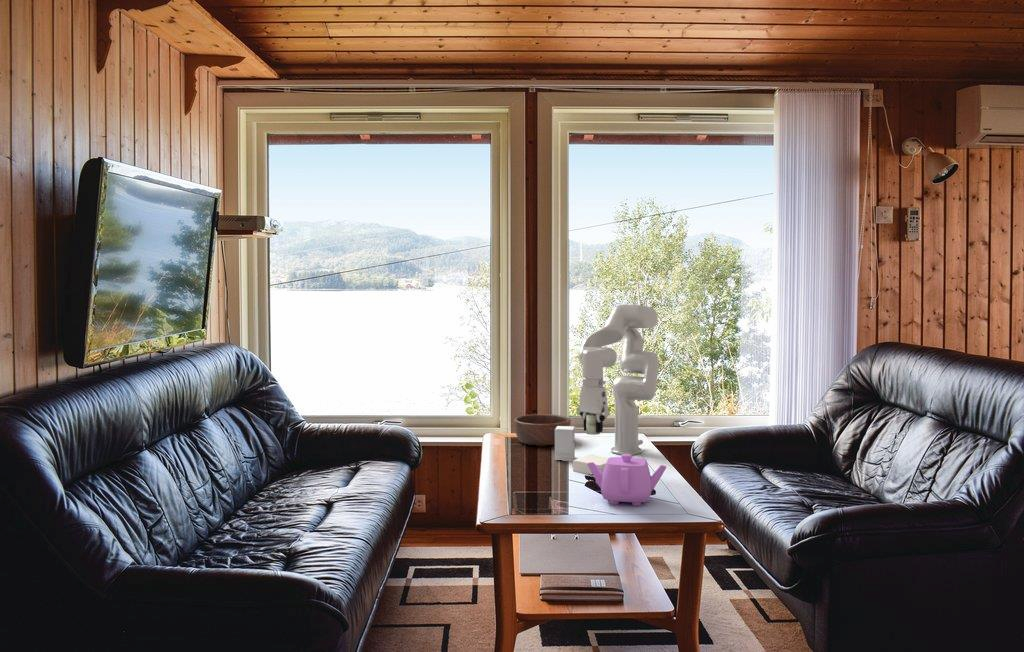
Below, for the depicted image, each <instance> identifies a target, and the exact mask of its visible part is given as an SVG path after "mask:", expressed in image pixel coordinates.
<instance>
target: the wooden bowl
mask: <svg viewBox="0 0 1024 652" xmlns="http://www.w3.org/2000/svg"><path fill="white" fill-rule="evenodd" d="M513 421H514V422H513V424H514V431H515V435H516V438H517V439H518V441H519V442H520V443H521V444H523V443H524V444H523V445H526V444H528V445H527V446H531V445H536V446H535V447H547V446H546V445H554V446H555V429H556V427H557V426H571V422H572V420H571V419H570V418H569V417H567V416H566V415H565V416H564V415H559V414H548V413H544V414H543V413H539V414H537V413H536V414H526V415H525V414H524V415H520V416H516V417H515V418H514V419H513ZM537 445H538V446H537Z"/></svg>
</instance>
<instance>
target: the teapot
mask: <svg viewBox="0 0 1024 652" xmlns="http://www.w3.org/2000/svg"><path fill="white" fill-rule="evenodd" d="M608 458H609V459H608V460H607V462H606V465H605V468H604V472H603V473H602V472H601V471H600V470H599V469H598V467H597V466H596V465H595V464H594V462H590V463H588V464H587V465H588V467H589V468H590V470H591V472H592V474H593V475H592V476H593V478H594V479H595V482H596V483H597V486H598V487H599V488H600V492H601V496H602V498H603V500H605V501H609V505H615V506H616V505H619V504H620V502H623V503H631V504H632V506H634V507H641V506H642V505H643V504H642V503H646V502H648V501H649V499H650V497H651V495H652V491H654V489H655V488H656V486H657V484H658V483H659V481H660V480H661V478H662V476H663V474H664V473H665V471H666V469H667V465H661V464H660V465H659V467H658V468H657V469H656V470H655V471H654V473H652V475H651V471H650V468H649V467H650V466H649V463H648V461H647V459H645V458H640V457H634V455H631V454H622V455H621V456H612V457H611V456H610V457H608Z"/></svg>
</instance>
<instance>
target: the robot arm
mask: <svg viewBox="0 0 1024 652" xmlns="http://www.w3.org/2000/svg"><path fill="white" fill-rule="evenodd" d="M658 319H659V317H658V313H657V311H656V309H654V307H651V306H647V305H642V304H618V305H616V306H615V307H613V308H612V310H611V312H610V313H609V317H608V318H607V320H606V322H605V323H604V326H603V327H601V328H599V329H598V330H596V331H594V332H593V333H591V334H590V335H588V337H586V338H585V339H584V341H583V343H582V345H581V347H580V350H579V351H578V360H579V363H580V364H581V365H582V385H581V388H580V394H579V404H578V407H576V411H577V413H579V415H580V416H581V419H582V420H583V431H585V432H586V414H591V413H592V414H596V417H597V421H598V422H596V433H600V434H601V433H602V432H603V429H604V425H603V424H604V423H603V422H604V421H605V420H606V419H607V417H609V416H610V415H611V412H610V410H609V407H608V395H607V390H606V386H604V385H605V384H606V381H605V380H604V368H611V367H613V366H614V365H615V364H616V363H617V359H618V354H617V352H616V350H614V349H613V348H611V347H608V346H609V345H613V344H615V343H618V342H620V341H621V340H622V344H621V345H622V346H621V351H620V359H619V369H620V370H621V371H622V372H623V373H626V374H636V375H643V376H634V375H620V376H617V377H616V378H614V380H613V382H612V392H613V398H614V447H611V449H610V452H611V453H613V454H616V455H622V454H631V455H632V456H635V455H640V454H642V453H643V449H642V448H640V447H639V446H640V445H643V444H644V440H643V439H639V408H638V406H637V403H636V402H635V401H648V402H649V401H652V400H653V399H654V398H655V394H656V390H657V383H658V381H657V380H658V375H659V368H660V367H659V366H660V365H659V362H660V361H659V360H660V359H659V357H658V354H657V353H655V352H653V351H650V350H648V351H644V350H643V349H644V348H643V347H644V338H643V336H642V334H641V333H640V332H639V330H638V329H653V328H655V326H656V325H657V323H658ZM606 346H607V347H606Z"/></svg>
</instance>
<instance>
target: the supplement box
mask: <svg viewBox="0 0 1024 652" xmlns="http://www.w3.org/2000/svg"><path fill="white" fill-rule="evenodd" d="M575 428H576V427H575V426H574V425H573V426H571V425H570V426H557V427H556V429H555V445H554V461H557V460H562V461H563V462H573V460H574V458H575V449H576V448H575V445H576V444H575V440H576V439H575V438H576V437H575V435H576V434H575V433H576V432H575V431H576V430H575Z"/></svg>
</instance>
